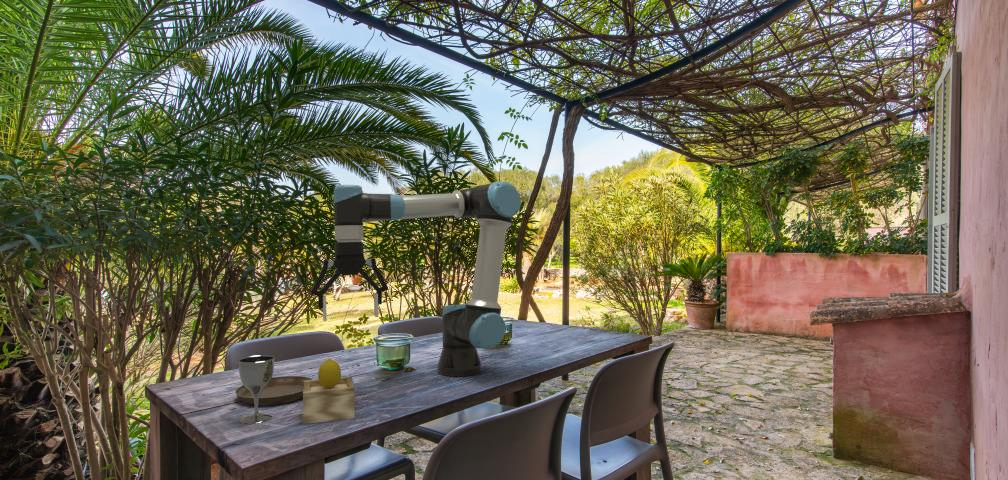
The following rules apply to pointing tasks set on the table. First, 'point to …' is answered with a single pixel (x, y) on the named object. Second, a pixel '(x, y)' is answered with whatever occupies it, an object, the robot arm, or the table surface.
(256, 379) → the wine glass
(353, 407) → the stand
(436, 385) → the table surface
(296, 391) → the plant saucer
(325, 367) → the lemon
